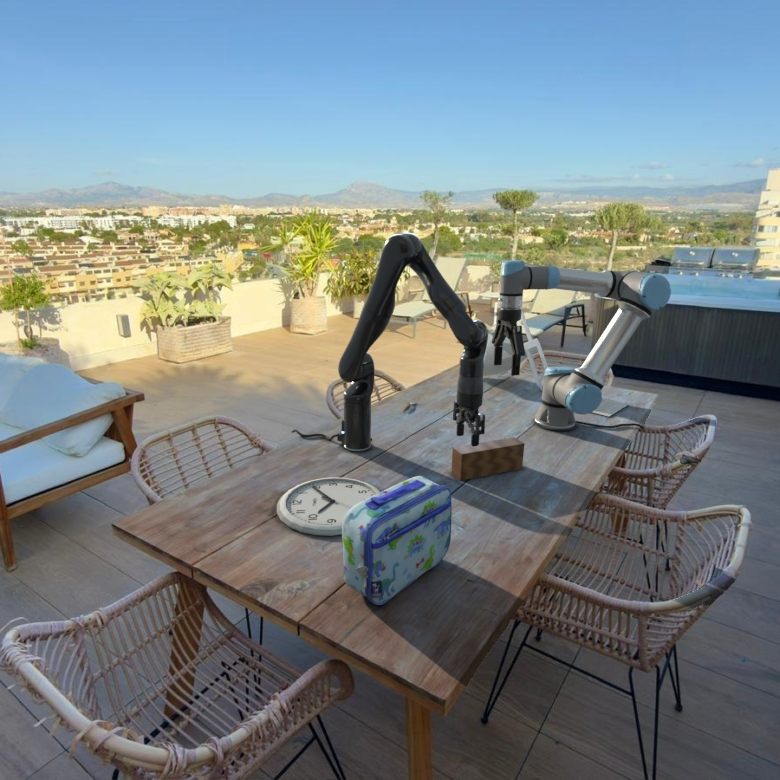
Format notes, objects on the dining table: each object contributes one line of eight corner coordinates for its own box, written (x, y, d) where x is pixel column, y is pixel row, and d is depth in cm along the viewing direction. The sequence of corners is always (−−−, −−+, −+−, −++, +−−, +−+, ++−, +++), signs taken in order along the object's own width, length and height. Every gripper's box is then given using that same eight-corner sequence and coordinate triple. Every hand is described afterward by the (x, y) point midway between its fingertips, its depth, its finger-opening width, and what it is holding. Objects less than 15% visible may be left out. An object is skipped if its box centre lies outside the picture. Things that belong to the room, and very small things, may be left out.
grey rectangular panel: (608, 416, 214) (573, 407, 224) (608, 416, 214) (573, 408, 224) (628, 404, 229) (594, 396, 238) (628, 405, 229) (594, 397, 238)
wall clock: (392, 527, 129) (268, 531, 127) (391, 533, 130) (269, 537, 127) (383, 473, 158) (282, 475, 155) (383, 478, 158) (282, 480, 156)
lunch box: (371, 618, 102) (371, 524, 95) (336, 591, 109) (334, 502, 103) (455, 562, 119) (460, 479, 113) (420, 542, 126) (423, 463, 120)
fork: (400, 412, 215) (400, 407, 215) (412, 400, 229) (412, 396, 229) (406, 412, 214) (406, 408, 214) (418, 401, 229) (418, 397, 228)
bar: (511, 461, 171) (514, 437, 169) (522, 468, 167) (524, 443, 164) (451, 473, 163) (452, 447, 160) (460, 480, 158) (462, 454, 155)
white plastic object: (488, 419, 266) (468, 396, 241) (469, 346, 288) (449, 319, 263) (559, 395, 254) (545, 368, 229) (533, 321, 276) (519, 290, 251)
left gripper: (447, 384, 158) (444, 434, 163) (471, 397, 146) (468, 451, 150) (468, 381, 161) (465, 430, 166) (494, 394, 148) (490, 447, 153)
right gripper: (484, 303, 184) (481, 361, 191) (517, 314, 161) (512, 380, 168) (503, 302, 186) (500, 360, 192) (539, 313, 163) (533, 378, 169)
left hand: (467, 440), depth 158 cm, fingers open, 8 cm apart
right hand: (506, 369), depth 180 cm, fingers open, 13 cm apart
